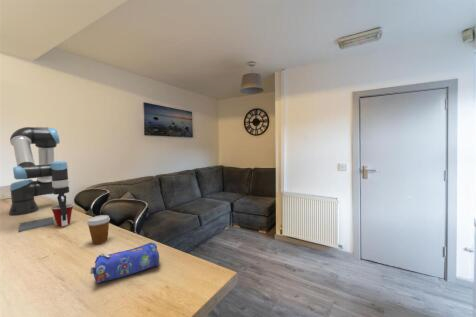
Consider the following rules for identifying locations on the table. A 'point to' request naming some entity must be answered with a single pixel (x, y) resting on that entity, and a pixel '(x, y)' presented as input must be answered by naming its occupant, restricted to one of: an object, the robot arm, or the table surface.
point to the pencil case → (125, 262)
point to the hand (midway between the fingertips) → (64, 223)
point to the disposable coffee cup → (99, 228)
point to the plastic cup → (57, 213)
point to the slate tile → (36, 224)
